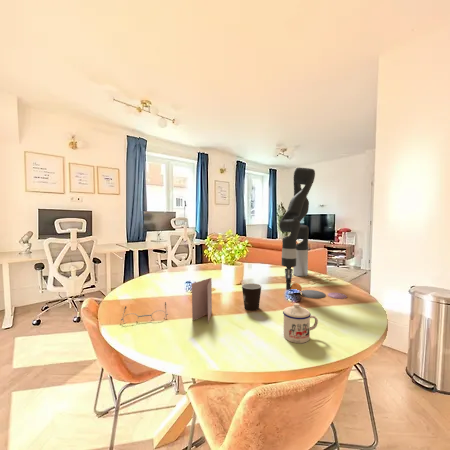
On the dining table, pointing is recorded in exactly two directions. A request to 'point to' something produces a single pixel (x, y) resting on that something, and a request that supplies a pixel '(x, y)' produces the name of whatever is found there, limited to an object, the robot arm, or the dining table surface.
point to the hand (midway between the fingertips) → (288, 289)
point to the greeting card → (202, 299)
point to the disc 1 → (313, 294)
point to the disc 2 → (337, 295)
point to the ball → (296, 286)
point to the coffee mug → (251, 296)
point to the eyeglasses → (143, 315)
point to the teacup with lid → (297, 324)
